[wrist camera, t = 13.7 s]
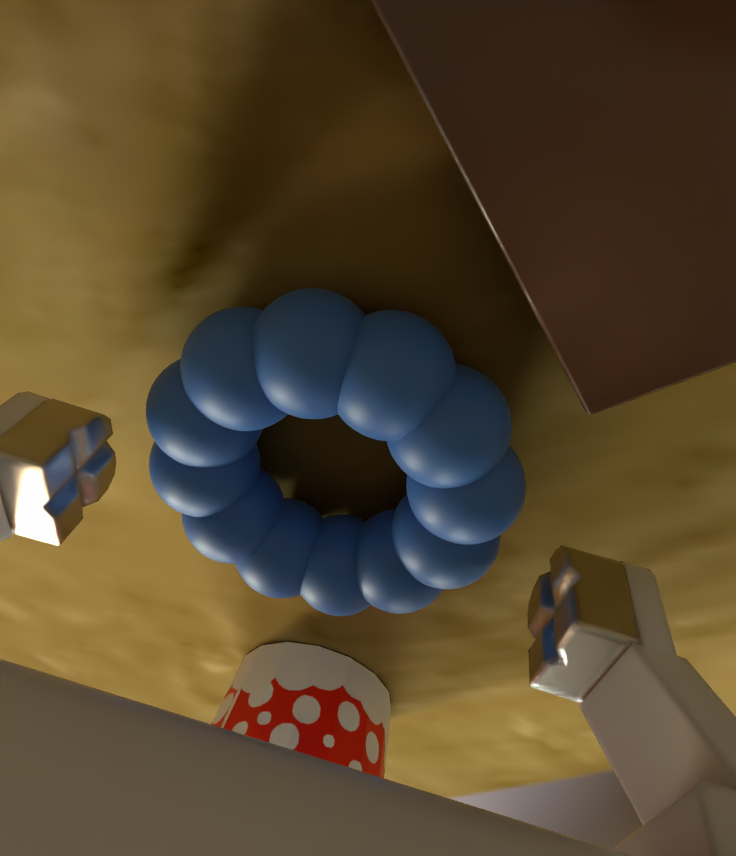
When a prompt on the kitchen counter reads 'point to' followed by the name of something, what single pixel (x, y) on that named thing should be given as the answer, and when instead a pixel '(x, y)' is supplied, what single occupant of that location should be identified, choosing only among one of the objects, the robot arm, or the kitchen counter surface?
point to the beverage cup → (310, 705)
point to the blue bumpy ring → (365, 413)
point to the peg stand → (596, 170)
